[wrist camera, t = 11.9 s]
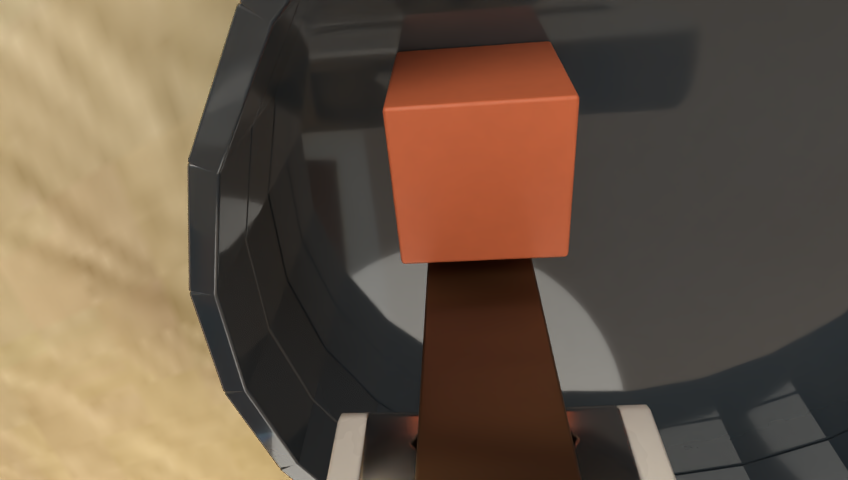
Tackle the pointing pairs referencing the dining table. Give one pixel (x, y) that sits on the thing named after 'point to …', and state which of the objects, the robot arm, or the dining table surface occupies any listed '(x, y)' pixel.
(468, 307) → the stick
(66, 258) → the dining table surface
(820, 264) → the bowl
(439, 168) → the block
